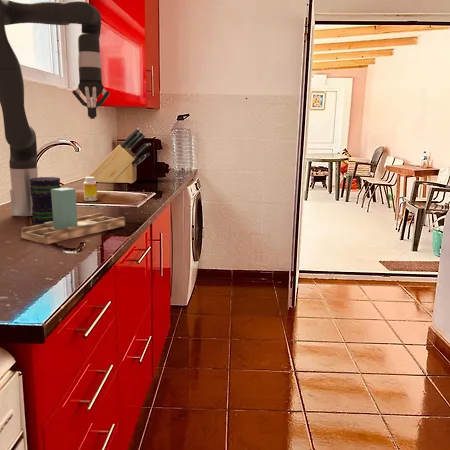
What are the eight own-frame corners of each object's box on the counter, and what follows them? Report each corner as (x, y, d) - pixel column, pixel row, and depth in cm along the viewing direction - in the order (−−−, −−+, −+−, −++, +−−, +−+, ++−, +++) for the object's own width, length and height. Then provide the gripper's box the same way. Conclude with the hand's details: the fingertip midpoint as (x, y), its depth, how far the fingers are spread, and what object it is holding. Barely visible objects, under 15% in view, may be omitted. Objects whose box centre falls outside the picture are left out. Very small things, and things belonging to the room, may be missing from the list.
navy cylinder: (32, 220, 162) (28, 177, 159) (61, 218, 166) (59, 176, 163) (33, 225, 153) (29, 181, 150) (64, 223, 157) (61, 179, 154)
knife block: (149, 183, 262) (147, 128, 255) (87, 183, 262) (84, 127, 255) (152, 181, 273) (151, 127, 266) (93, 180, 273) (90, 127, 266)
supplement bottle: (98, 200, 204) (97, 177, 201) (85, 201, 201) (84, 178, 199) (96, 198, 208) (94, 176, 206) (83, 199, 206) (82, 176, 204)
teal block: (67, 225, 146) (64, 187, 143) (77, 227, 143) (75, 188, 140) (53, 228, 142) (50, 189, 139) (64, 230, 139) (61, 190, 136)
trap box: (100, 221, 161) (100, 212, 161) (125, 225, 155) (124, 216, 154) (21, 238, 137) (20, 227, 137) (46, 244, 131) (45, 232, 130)
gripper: (68, 65, 153) (71, 118, 157) (109, 66, 156) (111, 119, 159) (71, 67, 161) (74, 118, 164) (110, 68, 163) (112, 119, 167)
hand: (92, 118), depth 162 cm, fingers closed
